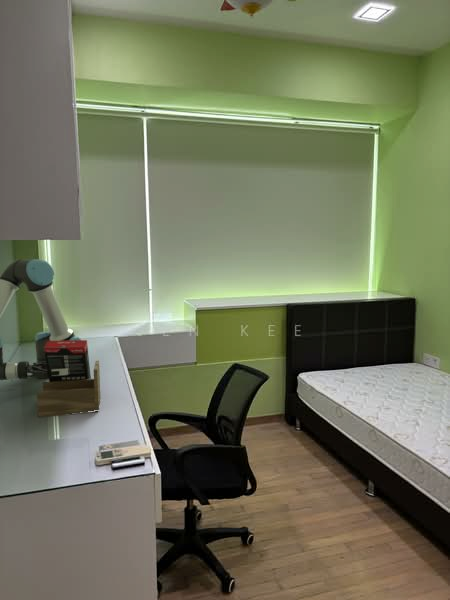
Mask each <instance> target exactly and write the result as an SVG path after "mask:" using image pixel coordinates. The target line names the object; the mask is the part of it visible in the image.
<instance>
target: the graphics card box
mask: <svg viewBox="0 0 450 600" xmlns="http://www.w3.org/2000/svg"><path fill="white" fill-rule="evenodd" d="M88 348H89V347H88V340H87V339H84V340H83V339H81V340H70V341H69V340H68V341H47V343H46V345H45V347H44V351H45V357H46V363H47V370H51V371H52V369H68V375H60V376H52V375H51V378H48V382H55V381H69V380H84V379H92V377H91V367H90V359H89V349H88Z"/></svg>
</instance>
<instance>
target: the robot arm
mask: <svg viewBox="0 0 450 600" xmlns="http://www.w3.org/2000/svg"><path fill="white" fill-rule="evenodd" d="M54 276H55V271H54V268H53V266H52V265H51V264H50V263H49V262H48V261H46V260H43V259H40V258H34V259H33V258H32V259H31V258H30V259H29V258H18V259H15V260H14V261H12V262H10V264H8V266H6V267H5V269H4V270H3V271H2V273H1V275H0V319H1V318H2V316H3V314H4V312H5V310H6V308H7V306H8V305H9V303H10V301H11V299H12V297H13V295H14V294H15V292H16V291H18V290H19V289H20V288H21V286H22V285H25V286H26V289H27V292H29V293H32V294H33V296H34V298H35V301H36V303H37V305H38V308H39V310H40V312H41V315H42V318H43V319H44V322H45V324H46V325H47V328H48V329H47V331H41V332H37V333H35V337H34V342H35V343H34V344H35V355H36V357H35V358H36V362H33V363H32V364H30V363H29V361H25V360H24V361H11V362H9V361H8V362H4V356H3V342H2V337H1V336H0V381H7V380H10V381H13V380H18V379H19V380H23V379H24V380H26V379H29V378H37V379H49V378H51V375H52V376H60V375H68V369H52V371H51V370H47V363H46V357H45V351H44V347H45V345H46V343H47V341H68V340H69V341H70V340H82V339H81V338H80V337H78V336H76V335H75V334H74V333H75V332H74V331H73V329H72V328H70V327H68V324H67V322H66V319H65V317H64V315H63V312H62V309H61V306H60V305H59V303H58V300H57V298H56V295H55V292H54V289H53V288H52V286H53V285H54V282H53V280H54Z"/></svg>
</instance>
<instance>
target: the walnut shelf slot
mask: <svg viewBox="0 0 450 600" xmlns="http://www.w3.org/2000/svg"><path fill="white" fill-rule="evenodd" d="M94 363H95V364H94V366H93V378H91V379H84V380H69V381H55V382H49V381H44V382H42V391H36V399H37V402H36V403H37V417H38V418H45V417H55V416H58V415H59V416H66V415H65V414H70V415H73V414H72V413H80V412H88V411H94V410H99V411H100V408H99V405H100V406H101V401H100V399H102V398H101V396H102V395H101V376H100V373H101V372H100V360H95V362H94ZM59 416H58V417H59Z"/></svg>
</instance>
